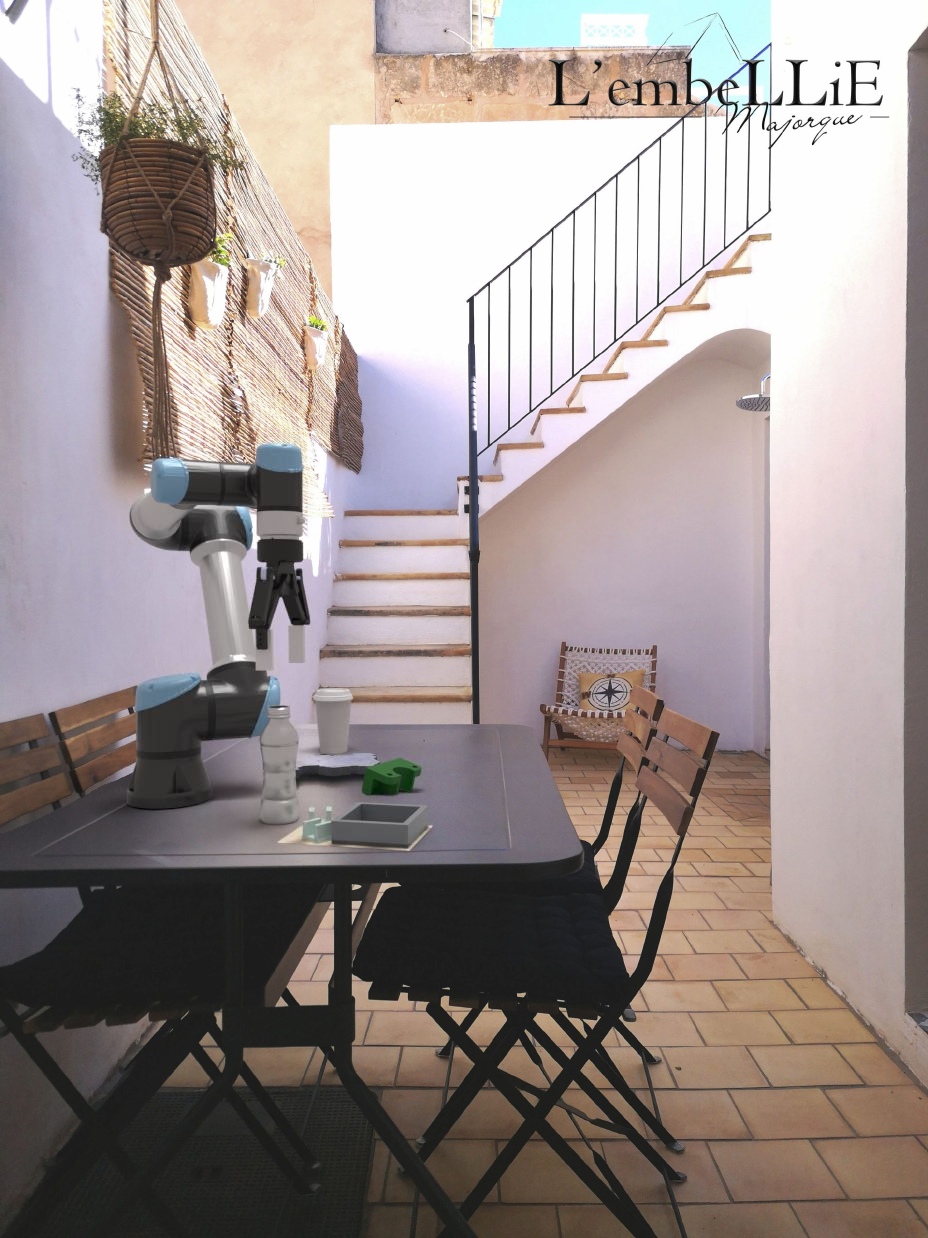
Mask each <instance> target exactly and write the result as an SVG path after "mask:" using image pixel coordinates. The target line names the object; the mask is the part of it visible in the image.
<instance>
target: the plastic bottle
mask: <svg viewBox="0 0 928 1238" xmlns="http://www.w3.org/2000/svg"><path fill="white" fill-rule="evenodd" d="M290 708H291V707H290V706H289V705H284V704H283V705H282V704H280V705H275V706H268V715H267V718H269V722H268V723H267V725H266V726H265V728H264V729H263V731H262V733H261V736H259V745H260V753H261V760H262V771H263V772H262V774H263V775H262V777H263V781H262V794H261V796H262V798H261V800H260V806H259V816H260V820H261V822H262V823H264V824H267V825H277V826H278V825H288V824H293V823H295V822H296V821H298V819H299V815H300V811H301V810H300V804H299V798H298V792H297V790H298V789H297V779H296V775H297V774H296V773H297V772H296V769H297V757H298V756H297V755H298V750H299V741H300V737H299V735H298V731H297V729H296V728H295V726H294V725H293V724H292V723H291V721H290V718H291V717H292V716H291V709H290Z"/></svg>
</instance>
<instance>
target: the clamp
mask: <svg viewBox="0 0 928 1238" xmlns="http://www.w3.org/2000/svg"><path fill="white" fill-rule="evenodd" d="M422 770H423V769H422V766H420V765H418V764H416V763H414V762H411V761H409V760H406V759H404V758H402V757H398V758H395V759H391V760H388V761H384V762H380V763H377V764H374V765H370V766H367V767H365V771H364V776H363V782H362V786H361V792H362V794H363V795H366V796H382V795H385V796H389V795H390V796H391V795H398V794H399V790H401V791H405V792H408V793H413V789H414V785H415V779H416V778H417V777H420V776H421V775H422Z"/></svg>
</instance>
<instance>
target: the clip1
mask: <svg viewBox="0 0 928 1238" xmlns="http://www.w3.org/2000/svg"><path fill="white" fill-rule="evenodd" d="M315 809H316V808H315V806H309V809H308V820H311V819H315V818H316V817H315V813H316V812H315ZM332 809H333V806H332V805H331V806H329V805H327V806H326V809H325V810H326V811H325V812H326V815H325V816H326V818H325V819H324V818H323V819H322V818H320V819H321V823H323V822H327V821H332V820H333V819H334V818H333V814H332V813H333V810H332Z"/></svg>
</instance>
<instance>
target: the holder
mask: <svg viewBox="0 0 928 1238" xmlns="http://www.w3.org/2000/svg"><path fill="white" fill-rule="evenodd" d="M332 819H333V820H332V821H331V838H332V844H342V845H358V846H375V847H392V848H409V847H410V846H411V845H412V844H413V843H414V842H415V841H416V840H417V839H418V837H419V836H420V835H421V834H422V833H423V832H424V831H425V830H426V829H427V828H428V825H429V805H428V804H427V805H424V804H423V805H422V804H406V803H405V804H403V803H385V802H363V801H357V802H356V803H354V804H353V805H351V806H350V807H349V808H347V809H345V811H343V812H342V813H340V814H339V815H337V816H336V817H335V818H332Z"/></svg>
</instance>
